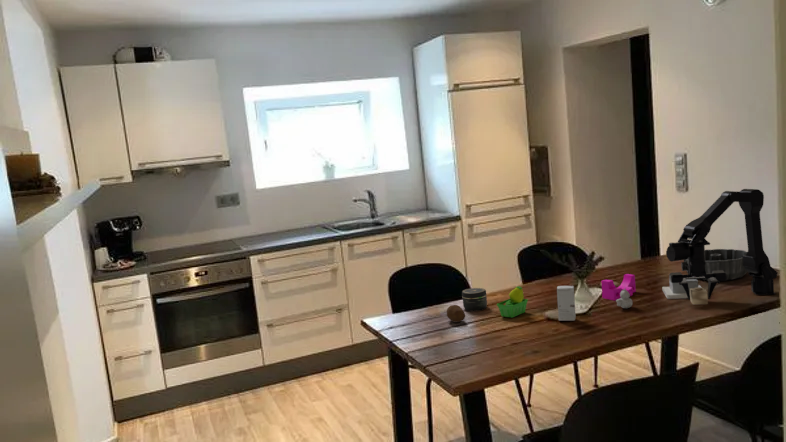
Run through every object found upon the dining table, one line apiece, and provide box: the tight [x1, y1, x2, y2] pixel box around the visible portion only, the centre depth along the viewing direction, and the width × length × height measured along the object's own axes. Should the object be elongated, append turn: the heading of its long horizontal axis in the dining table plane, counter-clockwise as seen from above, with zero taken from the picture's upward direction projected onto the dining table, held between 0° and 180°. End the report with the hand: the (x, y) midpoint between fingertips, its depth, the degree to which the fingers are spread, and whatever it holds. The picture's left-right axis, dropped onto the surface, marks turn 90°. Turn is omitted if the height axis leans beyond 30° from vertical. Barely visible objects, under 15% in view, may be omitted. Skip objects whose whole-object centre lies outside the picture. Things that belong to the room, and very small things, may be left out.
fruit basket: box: [496, 285, 529, 319], centre depth 243 cm, size 11×9×11 cm
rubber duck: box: [615, 289, 633, 309], centre depth 235 cm, size 5×7×8 cm
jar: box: [461, 287, 488, 312], centre depth 258 cm, size 10×10×8 cm
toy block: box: [600, 273, 637, 302], centre depth 253 cm, size 15×6×8 cm, turn 118°
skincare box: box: [556, 285, 577, 322], centre depth 228 cm, size 6×4×12 cm
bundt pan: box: [683, 248, 748, 281], centre depth 266 cm, size 26×26×10 cm
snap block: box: [690, 287, 709, 306], centre depth 231 cm, size 5×5×6 cm
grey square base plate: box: [661, 278, 703, 300], centre depth 245 cm, size 14×14×6 cm
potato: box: [446, 304, 466, 323], centre depth 243 cm, size 7×10×6 cm
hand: (699, 299), depth 231 cm, fingers open, 6 cm apart
